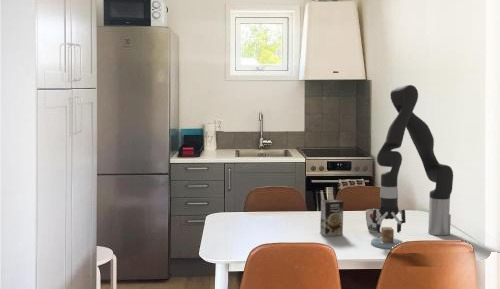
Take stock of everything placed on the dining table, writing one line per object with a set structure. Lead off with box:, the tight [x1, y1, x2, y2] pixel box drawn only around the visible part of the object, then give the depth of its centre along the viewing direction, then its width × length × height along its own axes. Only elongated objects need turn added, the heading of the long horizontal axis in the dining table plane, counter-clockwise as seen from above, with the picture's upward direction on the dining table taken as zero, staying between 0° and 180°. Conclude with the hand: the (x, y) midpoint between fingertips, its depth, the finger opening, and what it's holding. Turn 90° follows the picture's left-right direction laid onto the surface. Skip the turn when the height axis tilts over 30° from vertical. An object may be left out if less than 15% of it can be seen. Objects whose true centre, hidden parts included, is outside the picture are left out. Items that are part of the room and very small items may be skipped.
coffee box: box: [319, 199, 344, 237], centre depth 265 cm, size 9×6×16 cm
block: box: [380, 226, 395, 243], centre depth 248 cm, size 4×4×6 cm
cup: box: [365, 208, 383, 233], centre depth 272 cm, size 8×8×10 cm
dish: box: [370, 237, 404, 250], centre depth 248 cm, size 14×14×1 cm
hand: (388, 232), depth 247 cm, fingers open, 8 cm apart
